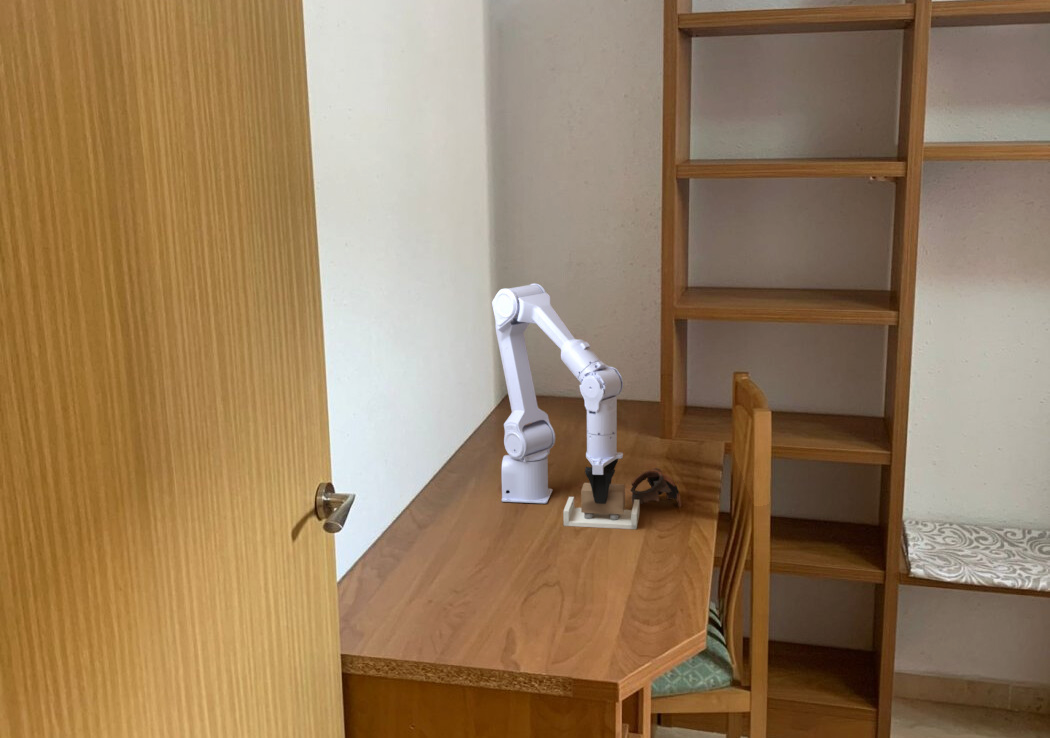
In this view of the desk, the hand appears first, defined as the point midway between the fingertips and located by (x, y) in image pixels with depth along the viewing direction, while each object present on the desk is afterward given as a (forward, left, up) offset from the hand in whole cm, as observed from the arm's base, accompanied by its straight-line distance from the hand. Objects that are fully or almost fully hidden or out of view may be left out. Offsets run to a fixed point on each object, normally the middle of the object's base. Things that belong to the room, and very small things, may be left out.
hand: (602, 498), depth 201 cm
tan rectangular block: (0, 0, -2) cm, 2 cm away
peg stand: (0, 0, -4) cm, 4 cm away
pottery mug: (+10, +11, -5) cm, 15 cm away
